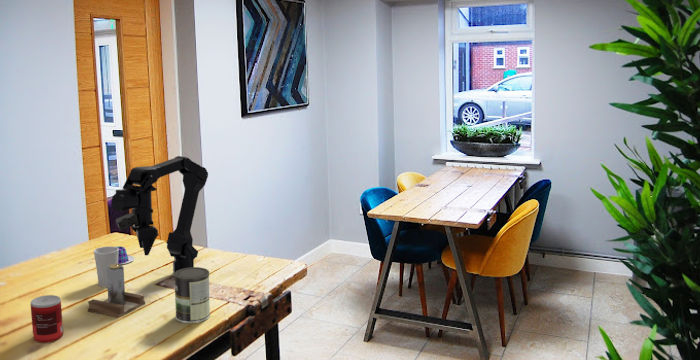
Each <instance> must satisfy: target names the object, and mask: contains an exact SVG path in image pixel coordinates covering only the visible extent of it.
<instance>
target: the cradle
mask: <svg viewBox="0 0 700 360" xmlns="http://www.w3.org/2000/svg"><path fill="white" fill-rule="evenodd" d="M87 303H88V308H87V312H90V313H95V314H99V315H104V316H109V317H113V318H122V317H123V316H125V315H127V314H128V313H129V314H130V312H131V313H132V312H133V311H134V310H137V309H138V308H140V307H142V306H144V305H146V301H145V295H142V294H137V293H133V292H128V291H125V305H119V304H114V303H109V302H108V298H107V299H105V300H99V299H98V300H97V299H95V298H94V299H91V300H89V301H88V302H87Z"/></svg>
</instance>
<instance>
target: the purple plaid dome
mask: <svg viewBox="0 0 700 360" xmlns="http://www.w3.org/2000/svg"><path fill="white" fill-rule="evenodd" d="M116 247H117V248H118V249H119V253H118V264H120V265H121V264H122V265H124V264H128V263H131V262H132V261H134V260H135V257H134V256H133V255H128V254H127V253H128V252H127V249H126V248H125V247H124V246H116Z"/></svg>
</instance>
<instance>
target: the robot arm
mask: <svg viewBox="0 0 700 360" xmlns="http://www.w3.org/2000/svg"><path fill="white" fill-rule="evenodd" d="M176 172H179V173H180V174H181V175H182V184H183V186H184V192H183V197H182V201H181V206H180V211H179V214H178V218H177V224H176V227H175V229H174V230H173V232H171V231H170V232H168V234H167V236H168V238H167V240H166V242H165V244H166V249H167V250H168V253H169V256H170V257H172V258H173V257H174V260H173V261H172V272H173V274H174V273H175V272H176V271H178V270H180V269H183V268H190V267H195V261H194V260H196V258H198V253H199V251H198V250H197V248H195V246H193V243H194V241H193V240H194V239H193V236H192V232H191V229H192V224H193V221H194V216H195V212H196V207H197V202H198V198H199V193H200V192H201V190H202V189H203V188H204V187H205V186H206V183H207V180H208V178H209V172H208V170H207V169H206V167H204V166H201V165H200V164H198V163H196V162H195V161H192V160H191V159H190V158H189V157H187V156H180V155H178V156H175V157H174V158H171V159H168V160H164V161H162V162H159V163H156V164H154V165H150V166H149V165H148V166H136V167H133V168H131V169H130V172H129V175H128V177H127V179H126V180H125V182H124V184H123V185H122V189H116V190H115V194H114V195H112V198H111V199H110V201H111V206H112V208H113V210H115V211H116V212H123V211H128V210H131V212H130V213H127V214H124V215H122V216H120V217H117V218H116V219H115V222H116V225H117V227H118V229H119V231H125V230H126V229H128V228H130V229H131V230H133V232H135V234H136V238H137V241H138V244H139V245H138V246H139V248H140V249H143V253H144V256H149V255H150V252H151V250H152V248H153V246H154V243H155V241H156V239H157V238H158V237H159V230H158V228H157V227H156V226H155V225H154V220H153V214H154V209H153V205H152V202H153V201H152V199H153V198H152V192H155V191H157V188H156V187H155V186H154V184H156V183H157V182H158V180H159V179H160V178H162V177H165V176H168V175H170V174H173V173H176Z"/></svg>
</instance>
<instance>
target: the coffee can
mask: <svg viewBox="0 0 700 360" xmlns="http://www.w3.org/2000/svg"><path fill="white" fill-rule="evenodd" d="M173 277H174V295H175V296H174V297H175V298H174V300H175V302H174V303H175V320H176V321H177V322H179V323H182V324H199V323H202V322H206V321H207V320H209V318H210V317H211V312H210V311H211V310H210V309H211V306H210V304H211V302H210V271H209V269H207V268H204V267H199V266H198V267H197V266H194V267H190V268H183V269H180V270H178V271H176V272H175V273H174V272H173Z"/></svg>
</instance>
